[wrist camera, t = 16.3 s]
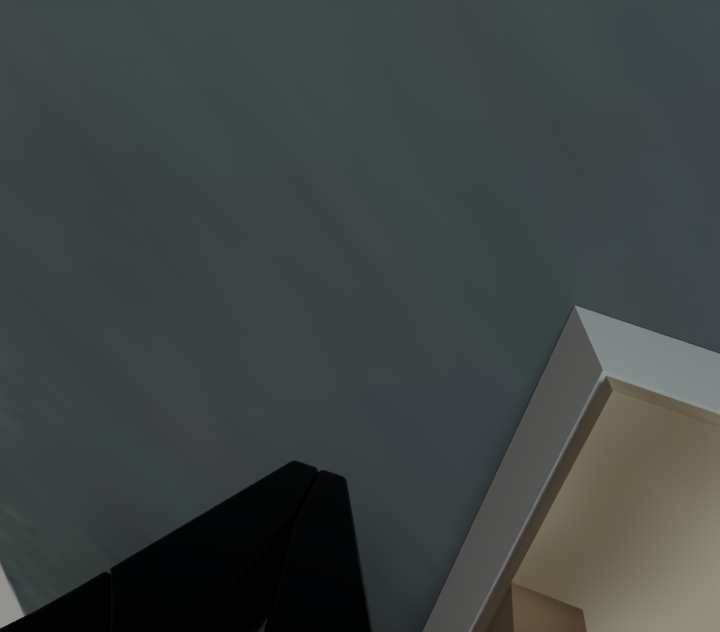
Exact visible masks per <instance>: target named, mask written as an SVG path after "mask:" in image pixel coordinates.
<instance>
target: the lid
mask: <svg viewBox="0 0 720 632" xmlns="http://www.w3.org/2000/svg"><path fill="white" fill-rule="evenodd" d="M474 632H720V414H717V413H714V412H711V411H708V410H705V409H702V408H699V407H696V406H693V405H690V404H688V403H685V402H682V401H679V400H676V399H673V398H670V397H667V396H664V395H661V394H658V393H656V392H653V391H650V390H647V389H644V388H641V387H638V386H635V385H632V384H629V383H626V382H623V381H621V380H618V379H615V378H612V377H609V376H606V377H605V379H604V381H603V383H602V385H601V387H600V388H599V390H598V392H597V394H596V396H595V398H594V400H593V402H592V404H591V406H590V408H589V410H588V412H587V414H586V415H585V417H584V419H583V421H582V423H581V425H580V427H579V429H578V431H577V433H576V435H575V437H574V439H573V441H572V443H571V444H570V446H569V448H568V450H567V452H566V454H565V456H564V458H563V460H562V462H561V464H560V466H559V468H558V470H557V472H556V473H555V475H554V477H553V479H552V481H551V483H550V485H549V487H548V489H547V491H546V493H545V495H544V497H543V499H542V500H541V502H540V504H539V506H538V508H537V510H536V512H535V514H534V516H533V518H532V520H531V522H530V524H529V526H528V528H527V529H526V531H525V533H524V535H523V537H522V539H521V541H520V543H519V545H518V547H517V549H516V551H515V553H514V555H513V557H512V558H511V560H510V562H509V564H508V566H507V568H506V570H505V572H504V574H503V576H502V578H501V580H500V582H499V584H498V585H497V587H496V589H495V591H494V593H493V595H492V597H491V599H490V601H489V603H488V605H487V607H486V609H485V611H484V613H483V614H482V616H481V618H480V620H479V622H478V624H477V626H476V628H475V630H474Z"/></svg>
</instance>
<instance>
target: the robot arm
mask: <svg viewBox="0 0 720 632" xmlns="http://www.w3.org/2000/svg"><path fill="white" fill-rule="evenodd" d="M265 624H266V626H265ZM264 626H265V630H264V632H373V629H372V624H371V618H370V612H369V607H368V601H367V595H366V589H365V584H364V578H363V572H362V567H361V561H360V555H359V549H358V544H357V538H356V532H355V526H354V521H353V515H352V509H351V504H350V498H349V492H348V486H347V481H346V479H345V478H344V477H343V476H340V475H337V474H334V473H331V472H328V471H325V470H321V471H320V472H318V469H317V468H316V467H313V466H310V465H307V464H304V463H301V462H298V461H291V462H289V463H288V464H286V465H284V466H283V467H281V468H279V469H278V470H276V471H274V472H272V473H271V474H269V475H267V476H266V477H264V478H262V479H261V480H259V481H257V482H256V483H254V484H252V485H250V486H249V487H247V488H245V489H244V490H242V491H240V492H239V493H237V494H235V495H234V496H232V497H230V498H229V499H227V500H225V501H223V502H222V503H220V504H218V505H217V506H215V507H213V508H212V509H210V510H208V511H207V512H205V513H203V514H201V515H200V516H198V517H196V518H195V519H193V520H191V521H190V522H188V523H186V524H185V525H183V526H181V527H179V528H178V529H176V530H174V531H173V532H171V533H169V534H168V535H166V536H164V537H163V538H161V539H159V540H157V541H156V542H154V543H152V544H151V545H149V546H147V547H146V548H144V549H142V550H141V551H139V552H137V553H136V554H134V555H132V556H130V557H129V558H127V559H125V560H124V561H122V562H120V563H119V564H117V565H115V566H114V567H112V568H111V569H110V570H109V573H108V572H103V573H101V574H100V575H98V576H96V577H94V578H93V579H91V580H89V581H88V582H86V583H84V584H83V585H81V586H79V587H77V588H76V589H74V590H72V591H70V592H69V593H67V594H65V595H63V596H61V597H60V598H58V599H56V600H54V601H52V602H51V603H49V604H47V605H45V606H43V607H42V608H40V609H38V610H36V611H34V612H32V613H30V614H28V615H26V616H24V617H22V618H20V619H18V620H16V621H15V622H12V623H10V624H8V625H6V626H5V627H2V628H0V632H262V630H263V628H264Z"/></svg>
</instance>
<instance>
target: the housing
mask: <svg viewBox="0 0 720 632" xmlns="http://www.w3.org/2000/svg"><path fill="white" fill-rule="evenodd" d="M606 376H609V377H612V378H615V379H618V380H621V381H623V382H626V383H629V384H632V385H635V386H638V387H641V388H644V389H647V390H650V391H653V392H656V393H658V394H661V395H664V396H667V397H670V398H673V399H676V400H679V401H682V402H685V403H688V404H690V405H693V406H696V407H699V408H702V409H705V410H708V411H711V412H714V413H717V414H720V354H719V353H716V352H713V351H710V350H707V349H704V348H701V347H698V346H695V345H692V344H689V343H686V342H683V341H680V340H677V339H674V338H671V337H668V336H665V335H662V334H659V333H656V332H653V331H650V330H647V329H644V328H641V327H638V326H635V325H632V324H629V323H626V322H623V321H620V320H617V319H614V318H611V317H608V316H605V315H602V314H599V313H596V312H593V311H590V310H587V309H584V308H581V307H578V306H574V308H573V310H572V312H571V314H570V316H569V319H568V321H567V323H566V325H565V327H564V329H563V331H562V334H561V336H560V338H559V340H558V342H557V344H556V346H555V349H554V351H553V353H552V355H551V357H550V359H549V361H548V364H547V366H546V368H545V370H544V372H543V374H542V376H541V379H540V381H539V383H538V385H537V387H536V389H535V391H534V394H533V396H532V398H531V400H530V402H529V404H528V406H527V409H526V411H525V413H524V415H523V417H522V419H521V421H520V424H519V426H518V428H517V430H516V432H515V434H514V436H513V439H512V441H511V443H510V445H509V447H508V449H507V451H506V454H505V456H504V458H503V460H502V462H501V464H500V466H499V469H498V471H497V473H496V475H495V477H494V479H493V481H492V484H491V486H490V488H489V490H488V492H487V494H486V497H485V499H484V501H483V503H482V505H481V507H480V509H479V512H478V514H477V516H476V518H475V520H474V522H473V524H472V527H471V529H470V531H469V533H468V535H467V537H466V539H465V542H464V544H463V546H462V548H461V550H460V552H459V554H458V557H457V559H456V561H455V563H454V565H453V567H452V569H451V572H450V574H449V576H448V578H447V580H446V582H445V584H444V587H443V589H442V591H441V593H440V595H439V597H438V599H437V602H436V604H435V606H434V608H433V610H432V612H431V614H430V617H429V619H428V621H427V623H426V625H425V627H424V629H423V632H474V630H475V628H476V626H477V624H478V622H479V620H480V618H481V616H482V614H483V613H484V611H485V609H486V607H487V605H488V603H489V601H490V599H491V597H492V595H493V593H494V591H495V589H496V587H497V585H498V584H499V582H500V580H501V578H502V576H503V574H504V572H505V570H506V568H507V566H508V564H509V562H510V560H511V558H512V557H513V555H514V553H515V551H516V549H517V547H518V545H519V543H520V541H521V539H522V537H523V535H524V533H525V531H526V529H527V528H528V526H529V524H530V522H531V520H532V518H533V516H534V514H535V512H536V510H537V508H538V506H539V504H540V502H541V500H542V499H543V497H544V495H545V493H546V491H547V489H548V487H549V485H550V483H551V481H552V479H553V477H554V475H555V473H556V472H557V470H558V468H559V466H560V464H561V462H562V460H563V458H564V456H565V454H566V452H567V450H568V448H569V446H570V444H571V443H572V441H573V439H574V437H575V435H576V433H577V431H578V429H579V427H580V425H581V423H582V421H583V419H584V417H585V415H586V414H587V412H588V410H589V408H590V406H591V404H592V402H593V400H594V398H595V396H596V394H597V392H598V390H599V388H600V387H601V385H602V383H603V381H604V379H605V377H606Z"/></svg>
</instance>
